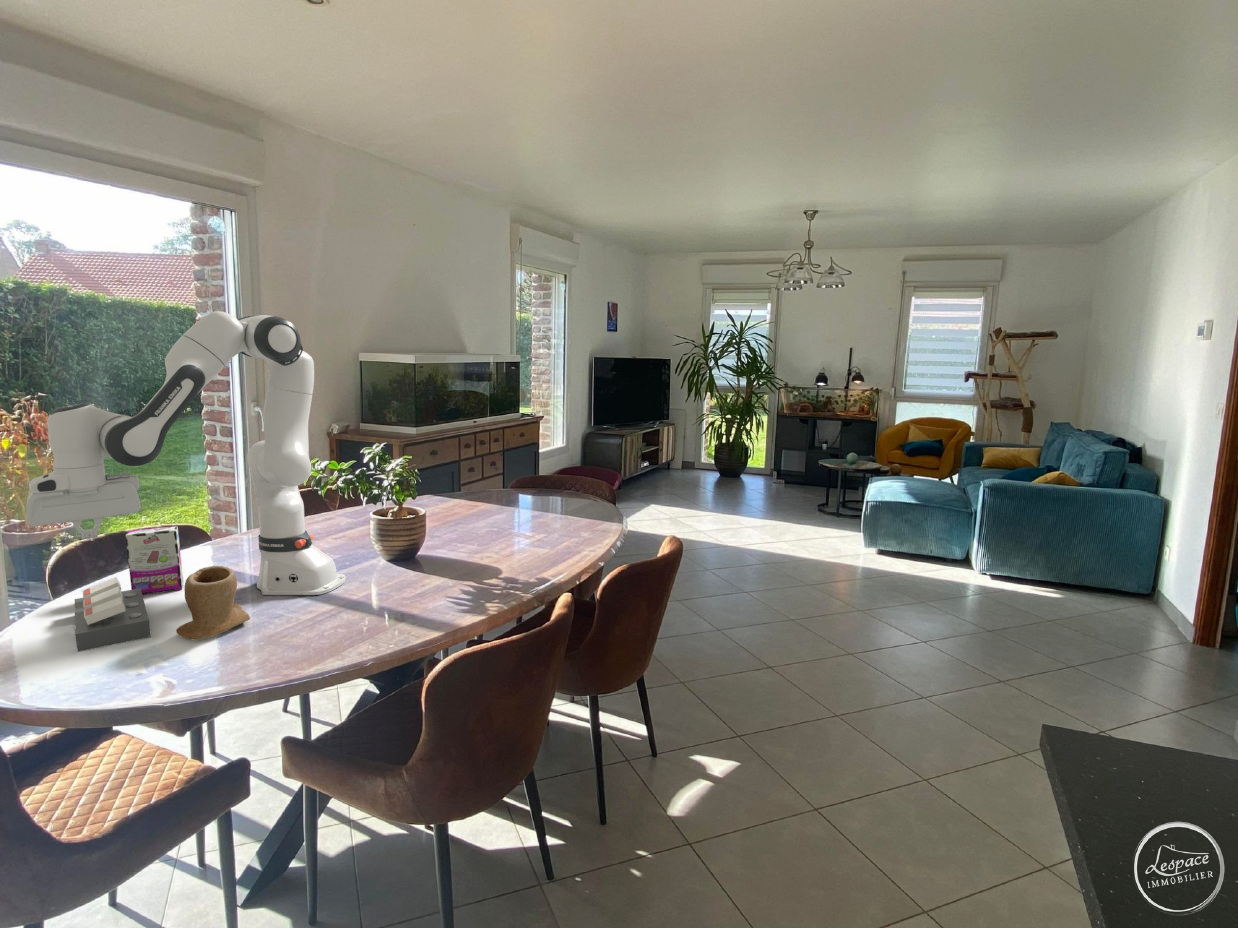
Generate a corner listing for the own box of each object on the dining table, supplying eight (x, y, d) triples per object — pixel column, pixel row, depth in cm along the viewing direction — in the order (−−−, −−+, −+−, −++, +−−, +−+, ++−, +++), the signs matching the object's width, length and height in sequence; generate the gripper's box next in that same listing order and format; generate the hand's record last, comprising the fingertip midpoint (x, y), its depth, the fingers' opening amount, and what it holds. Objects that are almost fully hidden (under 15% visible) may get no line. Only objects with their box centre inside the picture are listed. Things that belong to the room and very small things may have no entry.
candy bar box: (184, 584, 187) (178, 525, 184) (182, 590, 183) (176, 530, 180) (134, 590, 182) (127, 529, 179) (131, 596, 178) (124, 534, 175)
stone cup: (204, 648, 150) (198, 582, 147) (168, 637, 155) (162, 573, 152) (265, 623, 164) (261, 562, 161) (230, 614, 169) (225, 555, 166)
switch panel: (142, 603, 174) (140, 583, 173) (150, 636, 155) (148, 614, 154) (76, 614, 166) (73, 594, 165) (77, 651, 147) (74, 628, 146)
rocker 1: (120, 583, 168) (116, 576, 167) (121, 589, 165) (117, 581, 164) (86, 598, 165) (82, 590, 164) (87, 604, 161) (82, 596, 160)
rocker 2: (122, 593, 162) (118, 585, 162) (123, 599, 159) (119, 591, 158) (87, 607, 159) (82, 600, 158) (87, 614, 155) (83, 606, 154)
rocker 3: (124, 604, 157) (120, 596, 156) (125, 610, 153) (121, 602, 153) (87, 618, 153) (83, 609, 152) (87, 624, 149) (83, 616, 149)
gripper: (136, 469, 161) (144, 526, 164) (21, 481, 149) (31, 543, 151) (139, 474, 156) (147, 533, 159) (20, 486, 144) (31, 550, 147)
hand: (89, 538), depth 155 cm, fingers closed
